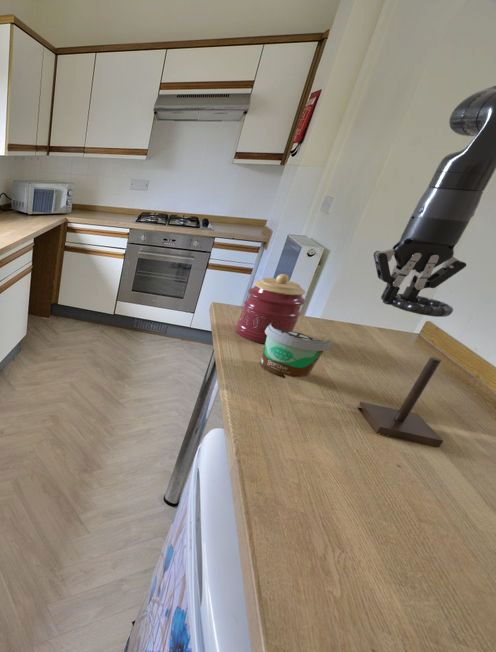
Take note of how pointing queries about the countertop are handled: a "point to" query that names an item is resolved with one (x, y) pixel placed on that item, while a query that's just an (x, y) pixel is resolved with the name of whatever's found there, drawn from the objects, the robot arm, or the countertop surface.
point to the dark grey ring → (423, 306)
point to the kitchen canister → (270, 307)
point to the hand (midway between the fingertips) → (394, 304)
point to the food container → (291, 352)
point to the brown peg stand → (405, 414)
